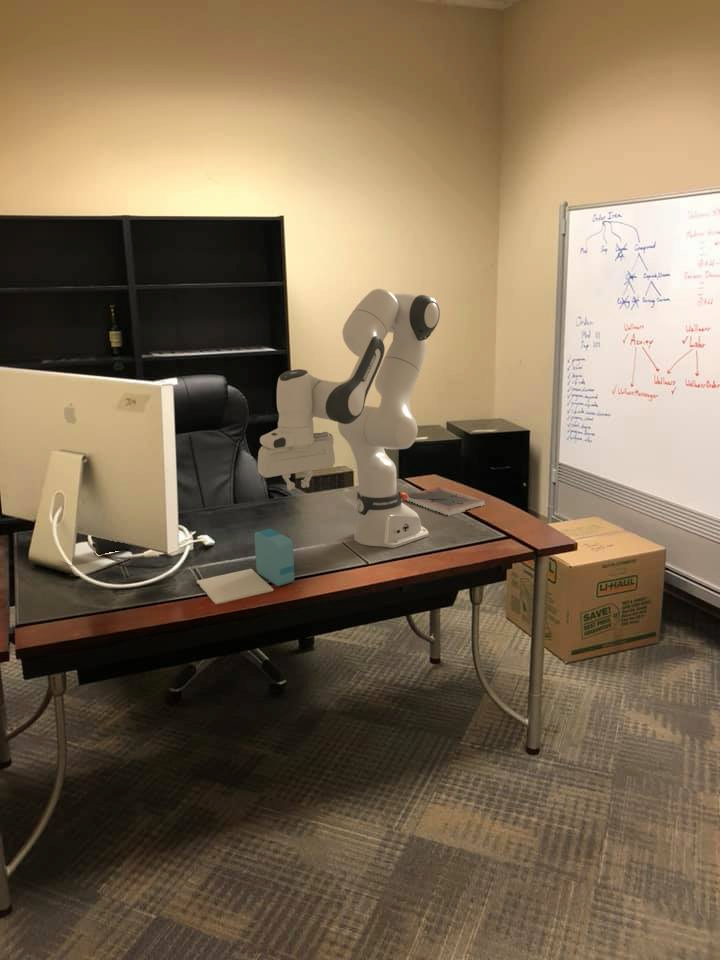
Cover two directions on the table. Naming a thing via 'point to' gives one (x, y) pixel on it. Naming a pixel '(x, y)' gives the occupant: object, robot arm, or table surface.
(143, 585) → the table surface
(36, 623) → the table surface
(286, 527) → the table surface
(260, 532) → the blue box
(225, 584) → the grey pad
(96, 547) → the end cap
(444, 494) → the picture frame
